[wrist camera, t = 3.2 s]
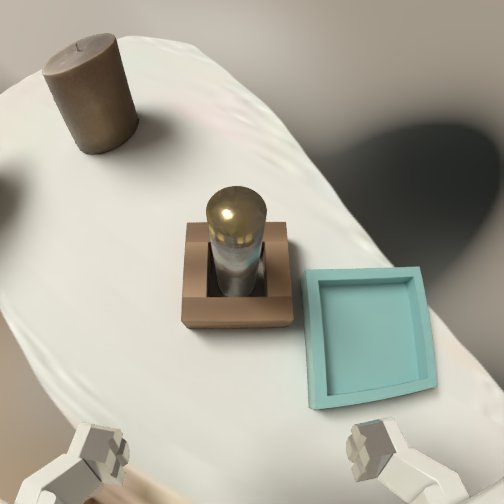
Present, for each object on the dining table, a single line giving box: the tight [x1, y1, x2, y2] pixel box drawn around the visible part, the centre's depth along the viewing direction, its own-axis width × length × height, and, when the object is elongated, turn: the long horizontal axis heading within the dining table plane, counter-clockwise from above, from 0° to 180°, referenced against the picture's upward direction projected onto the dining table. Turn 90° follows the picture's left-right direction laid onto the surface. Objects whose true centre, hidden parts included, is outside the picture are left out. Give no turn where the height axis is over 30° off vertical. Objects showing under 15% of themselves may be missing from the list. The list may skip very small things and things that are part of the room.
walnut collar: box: [181, 222, 294, 328], centre depth 27 cm, size 9×9×3 cm
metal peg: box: [206, 186, 267, 297], centre depth 23 cm, size 4×4×12 cm
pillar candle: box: [42, 33, 139, 154], centre depth 30 cm, size 10×10×15 cm
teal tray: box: [301, 267, 437, 409], centre depth 25 cm, size 12×12×2 cm
